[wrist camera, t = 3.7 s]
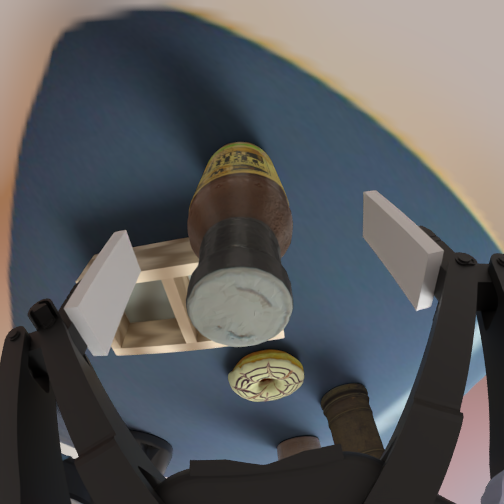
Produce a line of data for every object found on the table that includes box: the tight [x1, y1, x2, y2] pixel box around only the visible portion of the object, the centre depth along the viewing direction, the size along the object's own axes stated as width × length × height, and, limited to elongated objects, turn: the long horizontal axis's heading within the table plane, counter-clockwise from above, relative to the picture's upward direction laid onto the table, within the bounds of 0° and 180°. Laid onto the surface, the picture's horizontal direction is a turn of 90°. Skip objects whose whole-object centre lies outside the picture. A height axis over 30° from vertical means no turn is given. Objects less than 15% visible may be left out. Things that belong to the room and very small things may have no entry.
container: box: [321, 383, 385, 459], centre depth 41 cm, size 9×9×18 cm
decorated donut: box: [228, 349, 304, 402], centre depth 41 cm, size 10×11×4 cm
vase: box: [277, 436, 321, 461], centre depth 46 cm, size 10×10×28 cm
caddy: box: [76, 237, 285, 356], centre depth 31 cm, size 20×11×6 cm, turn 98°
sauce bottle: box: [186, 142, 293, 347], centre depth 19 cm, size 6×6×20 cm
